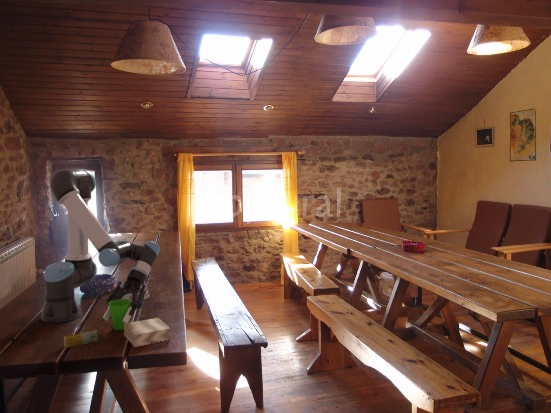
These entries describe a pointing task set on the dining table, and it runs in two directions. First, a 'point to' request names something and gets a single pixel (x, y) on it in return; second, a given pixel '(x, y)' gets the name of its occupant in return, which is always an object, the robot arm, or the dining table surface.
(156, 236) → the dining table surface
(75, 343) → the medication box
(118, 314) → the cup
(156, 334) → the birch block
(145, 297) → the dog bowl
